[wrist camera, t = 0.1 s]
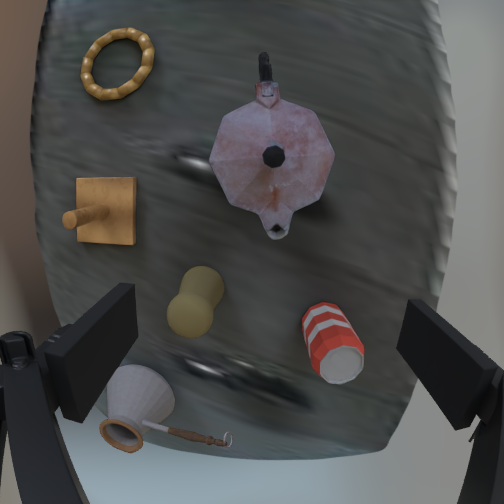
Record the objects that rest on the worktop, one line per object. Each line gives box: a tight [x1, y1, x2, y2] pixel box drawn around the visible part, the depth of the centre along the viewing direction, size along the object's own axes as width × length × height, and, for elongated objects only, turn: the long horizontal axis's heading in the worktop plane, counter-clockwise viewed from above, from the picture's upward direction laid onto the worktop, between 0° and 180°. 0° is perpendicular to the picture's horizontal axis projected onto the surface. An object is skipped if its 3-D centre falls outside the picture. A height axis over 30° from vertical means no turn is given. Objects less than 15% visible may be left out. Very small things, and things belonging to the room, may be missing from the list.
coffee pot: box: [99, 364, 233, 453], centre depth 40 cm, size 21×12×15 cm, turn 101°
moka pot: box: [209, 52, 335, 240], centre depth 30 cm, size 10×15×20 cm, turn 8°
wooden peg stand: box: [63, 177, 137, 245], centre depth 36 cm, size 9×9×10 cm
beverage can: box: [302, 302, 364, 384], centre depth 39 cm, size 6×6×12 cm
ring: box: [80, 27, 155, 100], centre depth 35 cm, size 11×11×2 cm
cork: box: [167, 266, 225, 338], centre depth 38 cm, size 6×6×11 cm
